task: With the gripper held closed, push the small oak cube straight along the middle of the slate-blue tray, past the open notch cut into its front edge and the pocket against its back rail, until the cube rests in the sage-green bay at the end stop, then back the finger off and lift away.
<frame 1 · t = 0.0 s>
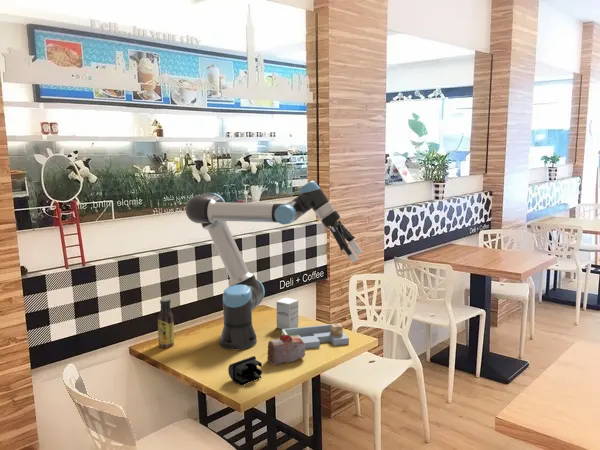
hand: (357, 257, 206), 36 cm above the table, tool tilted 35°, fingers open, 13 cm apart
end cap: (245, 379, 178), on the table
oak block: (336, 334, 212), point 2 cm above the table, touching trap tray
food item: (286, 360, 193), on the table
sauce bottle: (166, 346, 207), on the table
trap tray: (315, 342, 210), on the table
supplement box: (287, 327, 227), on the table
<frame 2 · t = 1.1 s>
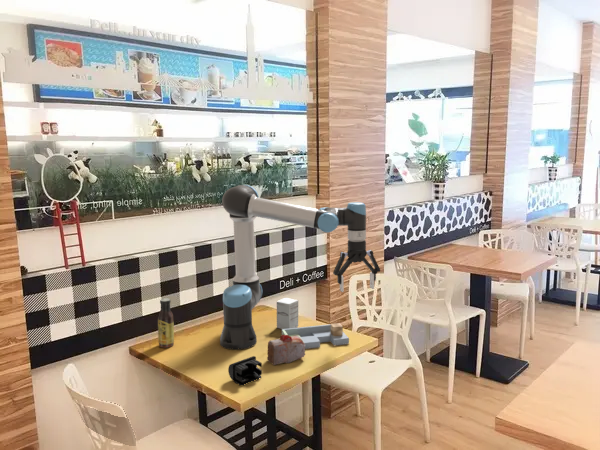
hand: (356, 289, 211), 21 cm above the table, tool pointing down, fingers open, 13 cm apart
nothing on the table moved.
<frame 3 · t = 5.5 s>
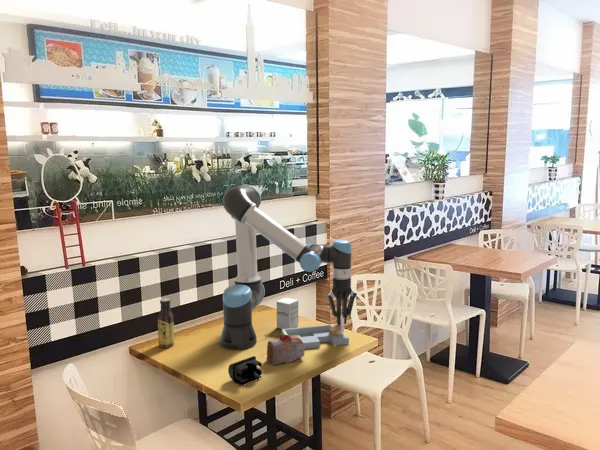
hand: (341, 331, 213), 3 cm above the table, tool pointing down, fingers closed
oak block: (335, 334, 212), point 3 cm above the table, touching gripper
everything else where it was.
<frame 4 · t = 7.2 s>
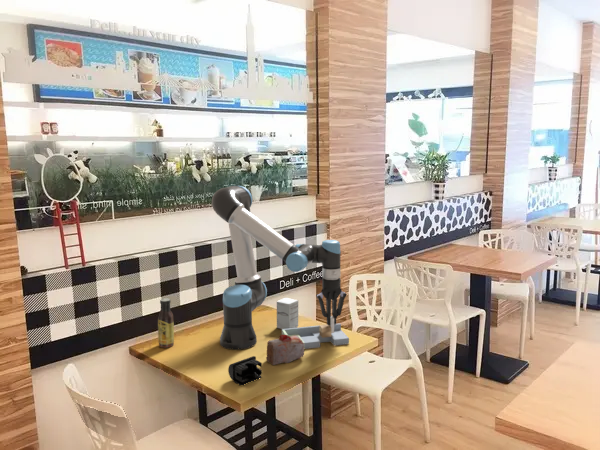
hand: (331, 331, 211), 4 cm above the table, tool pointing down, fingers closed
oak block: (325, 335, 211), point 3 cm above the table, touching gripper, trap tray
everything else where it was.
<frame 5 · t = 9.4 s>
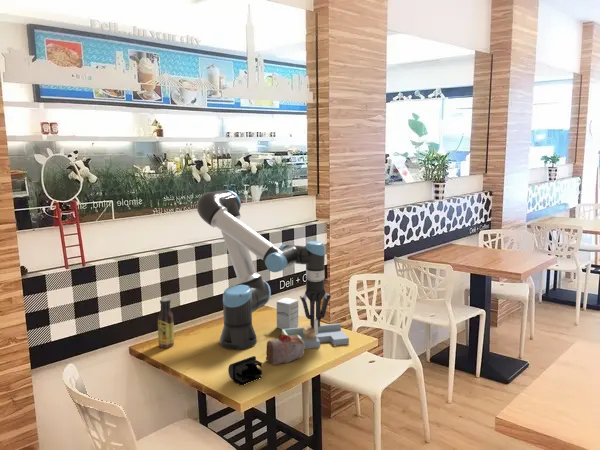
hand: (315, 334, 210), 3 cm above the table, tool pointing down, fingers closed
oak block: (309, 337, 209), point 2 cm above the table, touching gripper, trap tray
everything else where it was.
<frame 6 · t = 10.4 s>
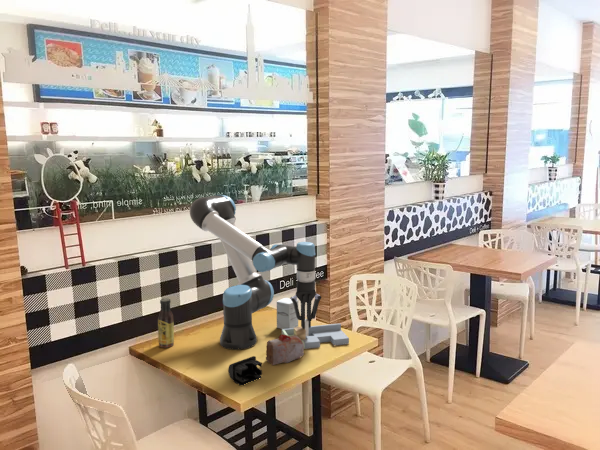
hand: (305, 334, 209), 4 cm above the table, tool pointing down, fingers closed
oak block: (299, 338, 208), point 3 cm above the table, touching gripper, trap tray
everything else where it was.
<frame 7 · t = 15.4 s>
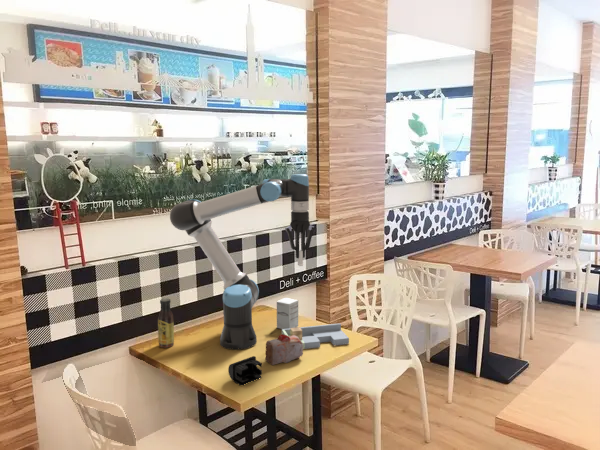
hand: (300, 265, 216), 30 cm above the table, tool pointing down, fingers closed
oak block: (296, 338, 208), point 2 cm above the table, touching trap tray
everything else where it was.
at the end: oak block 0.7 cm from the target spot, point 2.5 cm above the table; oak block tilted 0° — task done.
